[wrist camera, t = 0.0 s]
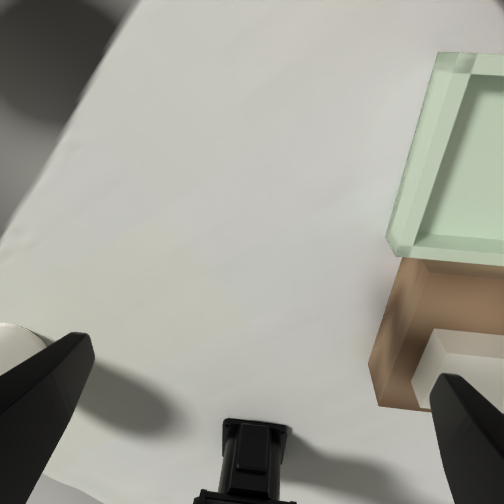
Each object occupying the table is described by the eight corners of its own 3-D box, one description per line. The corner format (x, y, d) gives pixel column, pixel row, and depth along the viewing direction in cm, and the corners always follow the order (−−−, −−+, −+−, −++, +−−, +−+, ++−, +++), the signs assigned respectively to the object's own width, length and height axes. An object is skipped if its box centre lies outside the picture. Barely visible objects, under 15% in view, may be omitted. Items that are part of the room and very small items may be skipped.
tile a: (485, 390, 23) (500, 416, 22) (410, 381, 24) (420, 407, 22) (517, 336, 21) (538, 362, 19) (433, 328, 21) (446, 352, 19)
